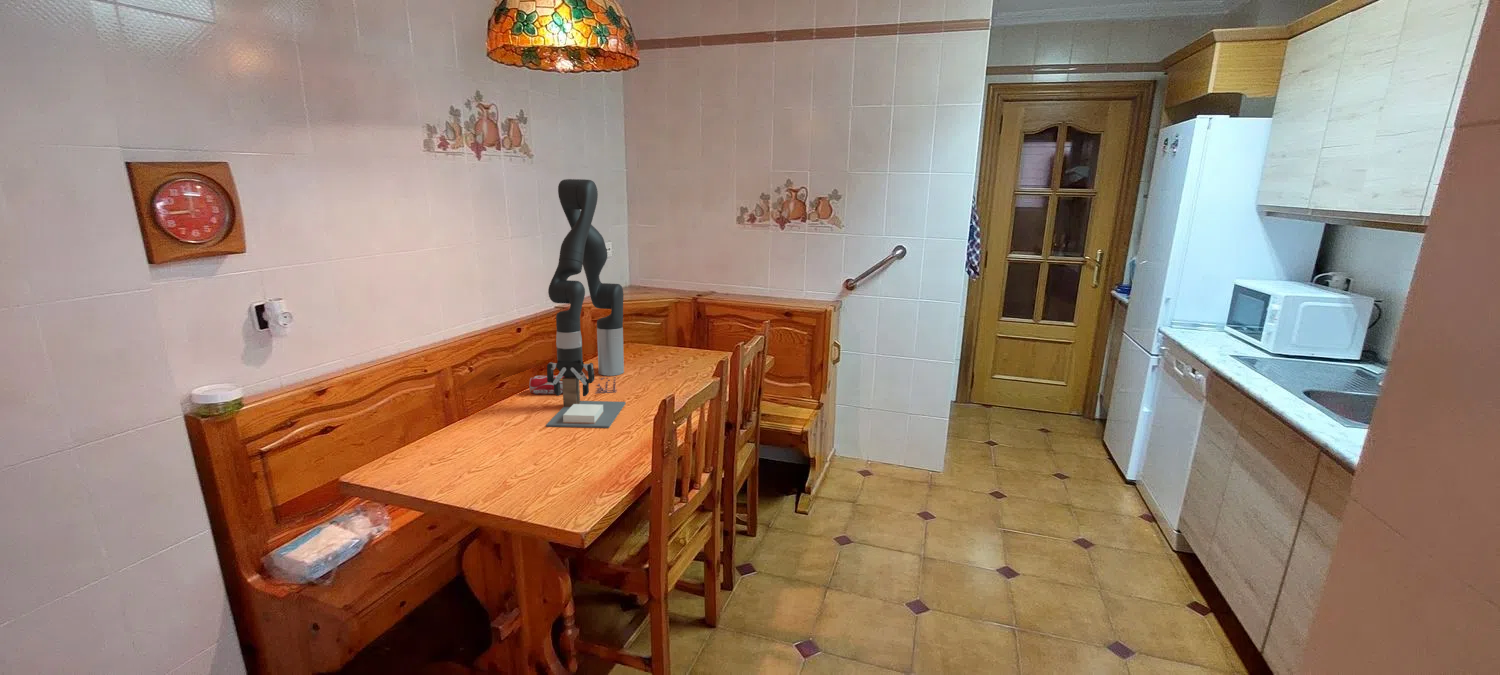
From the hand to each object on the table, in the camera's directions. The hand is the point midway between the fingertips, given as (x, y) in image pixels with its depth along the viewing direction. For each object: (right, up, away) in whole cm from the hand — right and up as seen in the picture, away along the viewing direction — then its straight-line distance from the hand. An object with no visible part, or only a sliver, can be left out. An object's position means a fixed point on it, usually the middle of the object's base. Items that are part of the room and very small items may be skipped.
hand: (571, 395), depth 190 cm
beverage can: (-5, +2, +13) cm, 14 cm away
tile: (+7, -3, -6) cm, 10 cm away
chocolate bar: (+6, 0, +23) cm, 23 cm away
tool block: (0, -3, +1) cm, 3 cm away
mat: (+7, -5, -6) cm, 11 cm away
